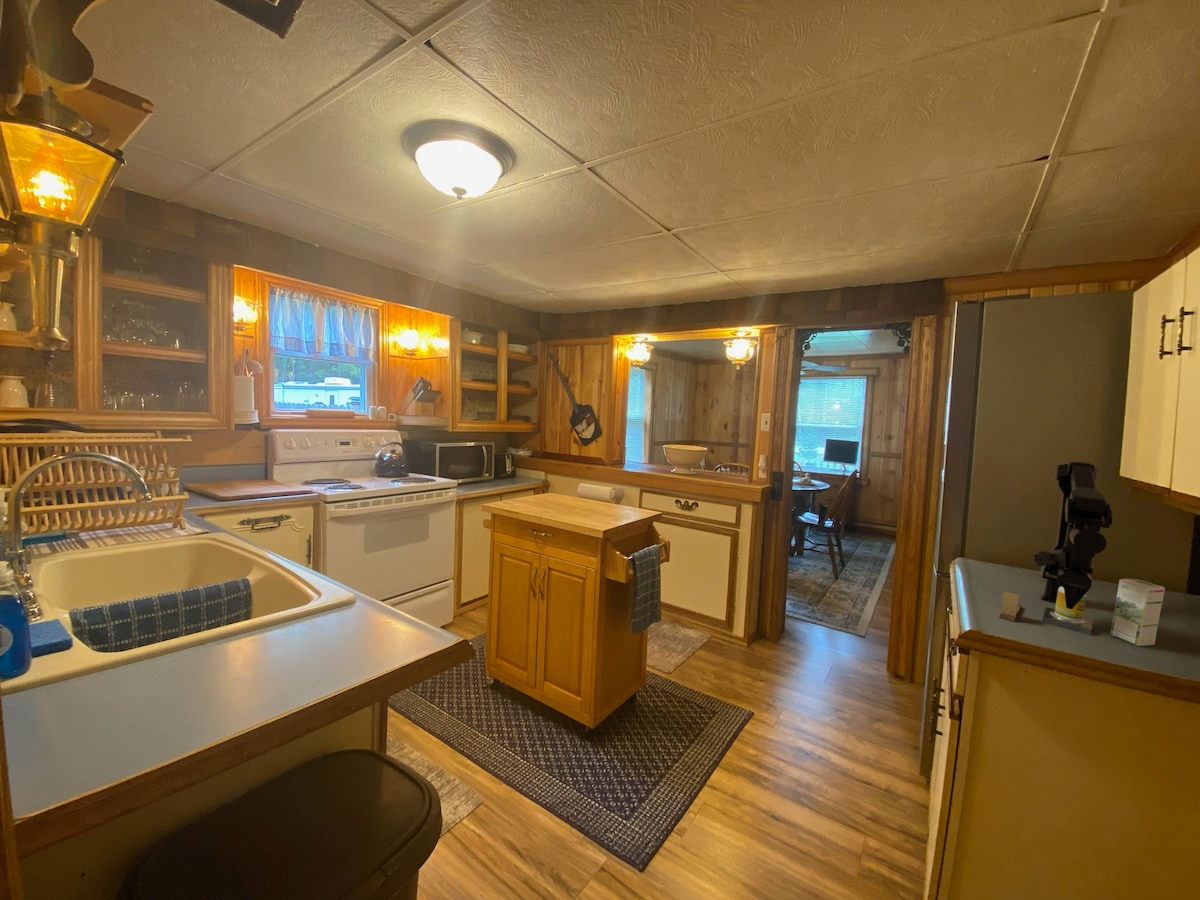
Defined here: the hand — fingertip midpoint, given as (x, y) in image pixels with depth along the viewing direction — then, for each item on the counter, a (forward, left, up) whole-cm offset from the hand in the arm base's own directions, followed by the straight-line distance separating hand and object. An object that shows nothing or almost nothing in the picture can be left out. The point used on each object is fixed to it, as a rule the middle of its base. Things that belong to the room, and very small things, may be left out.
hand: (1070, 603), depth 130 cm
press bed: (0, 0, -5) cm, 5 cm away
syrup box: (0, +12, -5) cm, 13 cm away
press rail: (+4, -11, -5) cm, 13 cm away
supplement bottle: (0, 0, -4) cm, 4 cm away
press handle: (+9, -11, -4) cm, 15 cm away
